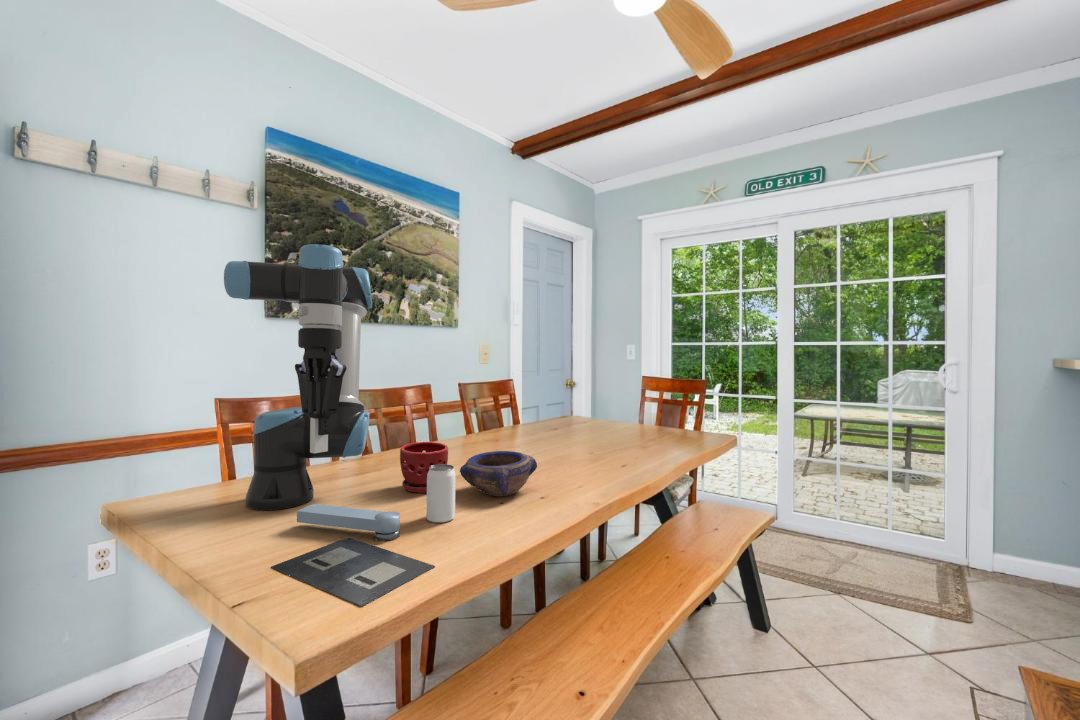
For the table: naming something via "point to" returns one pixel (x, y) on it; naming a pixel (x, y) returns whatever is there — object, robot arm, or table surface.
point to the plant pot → (420, 463)
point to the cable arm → (350, 518)
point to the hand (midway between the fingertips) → (319, 451)
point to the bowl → (498, 471)
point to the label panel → (354, 570)
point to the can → (441, 493)
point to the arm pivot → (387, 536)
